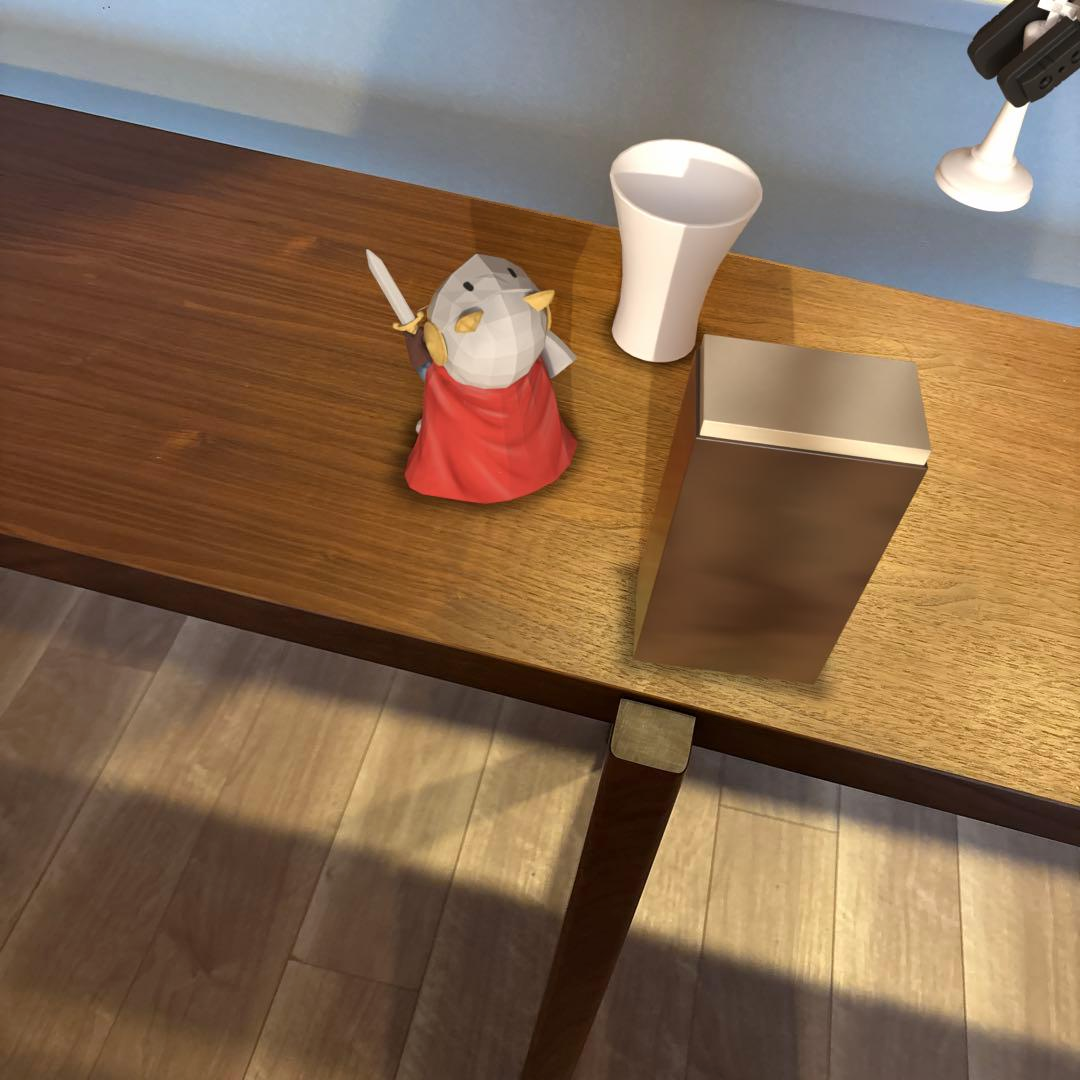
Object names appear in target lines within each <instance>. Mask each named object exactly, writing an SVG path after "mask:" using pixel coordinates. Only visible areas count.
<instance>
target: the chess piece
mask: <svg viewBox="0 0 1080 1080" xmlns="http://www.w3.org/2000/svg"><path fill="white" fill-rule="evenodd" d="M1067 1H1068V0H1040V2H1039V4H1038V7H1040V8H1043V9H1046V10H1048V11H1051V12H1050V14H1049V16H1048V19H1047V20H1046V21H1045V20H1038V21H1033V22H1031V23H1029V24H1028V25H1027V26H1026V28H1025V32H1024V46H1023V51H1024V50H1025V49H1026V48H1027V47H1029V46H1030V45H1031V44H1032V43H1033V42H1035V41H1036V40H1037V39H1038V38H1039V37H1041V36H1042V35H1043V34H1044V33H1046V32H1047V31H1048V30H1049V29H1050V28H1052V27H1053V26H1054V25H1055V24H1056V23H1058V22H1059V21H1060V20H1059V19H1060V17H1061V15H1063V16H1066V15H1067V16H1068V17H1069V18H1070V19H1072V20H1075V18H1077V17H1076V15H1077V11H1078V10H1079V8H1080V6H1078V5H1075V4H1072V3H1069V2H1067ZM1029 104H1030V102H1028V103H1027V104H1026V105H1025V106H1023V107H1020V108H1015V107H1014V106H1013V105H1012V104H1011V103H1010V102H1009V101H1007V100H1006V99H1005V101H1004V103H1003V105H1002V107H1001V108H1000V110H999V112H998V114H997V116H996V118H995V119H994V120H993V122H992V124H991V126H990V128H989V129H988V131H987V133H986V135H985V137H984V138H983V139H982V141H981V143H978V144H975V145H974V146H964V147H958V148H953V149H952V150H949V151H947V152H946V153H945V154H944V155H942V157H941V158H940V160H939V163H938V164H937V166H936V167H935V170H934V173H933V174H934V175H933V176H934V180H935V182H936V184H937V186H938V188H939V189H941V190H942V192H944V193H945V194H946V195H948V197H950V198H951V199H953V200H955V201H957V202H959V203H961V204H962V205H965V206H968V207H971V208H974V209H978V210H982V211H986V212H1009V211H1015V210H1017V209H1020V208H1022V207H1023V206H1025V205H1026V204H1027V203H1028V202H1029V200H1030V198H1031V192H1032V190H1033V188H1034V179H1033V176H1032V174H1031V173H1030V171H1029V170H1028V168H1027V167H1025V165H1023V163H1022V162H1020V161H1018V159H1017V156H1016V155H1015V154H1014V153H1015V149H1016V145H1017V142H1018V139H1019V136H1020V133H1021V132H1020V131H1021V129H1022V125H1023V122H1024V118H1025V115H1026V112H1027V110H1028V107H1029Z"/></svg>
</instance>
